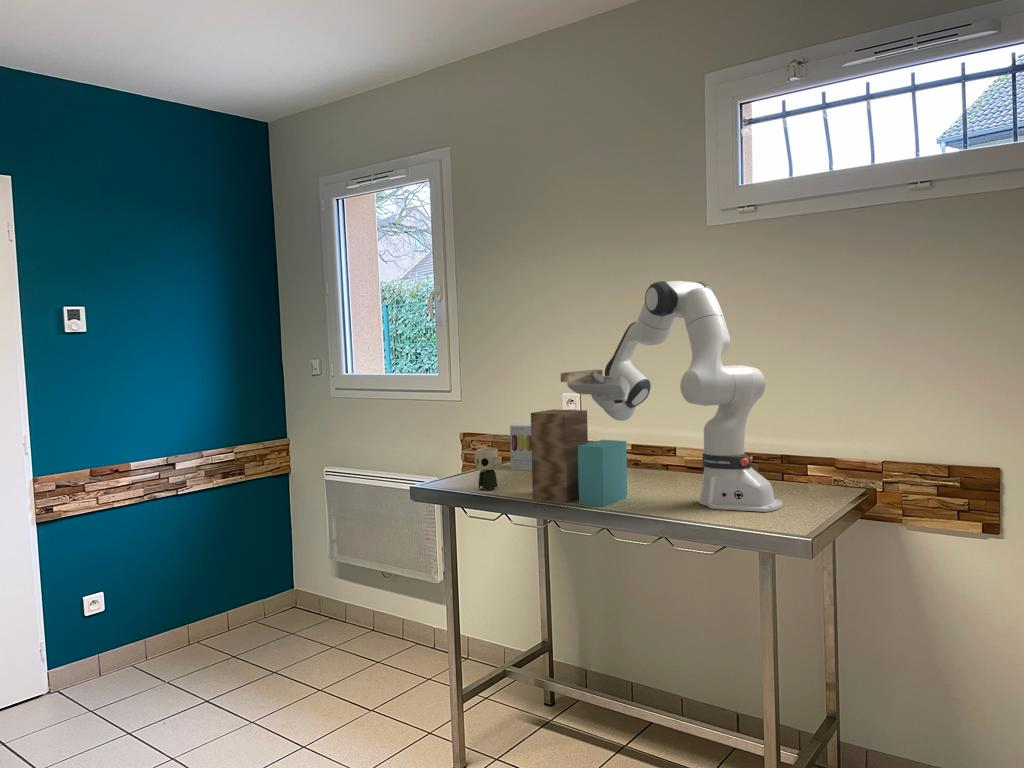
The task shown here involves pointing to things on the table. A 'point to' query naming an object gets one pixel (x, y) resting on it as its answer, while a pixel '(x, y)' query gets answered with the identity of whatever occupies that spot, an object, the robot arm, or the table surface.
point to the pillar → (557, 453)
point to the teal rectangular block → (602, 472)
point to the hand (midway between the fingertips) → (587, 373)
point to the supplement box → (520, 446)
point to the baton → (578, 375)
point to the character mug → (487, 467)
